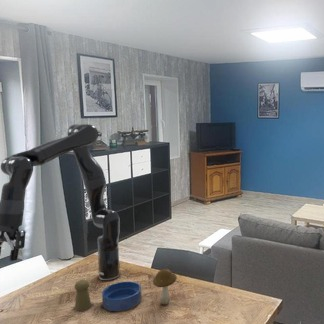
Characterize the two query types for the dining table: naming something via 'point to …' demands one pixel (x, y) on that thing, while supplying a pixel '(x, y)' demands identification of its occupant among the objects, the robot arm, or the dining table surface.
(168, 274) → the mushroom
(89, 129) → the robot arm
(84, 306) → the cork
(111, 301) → the bowl
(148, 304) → the dining table surface
